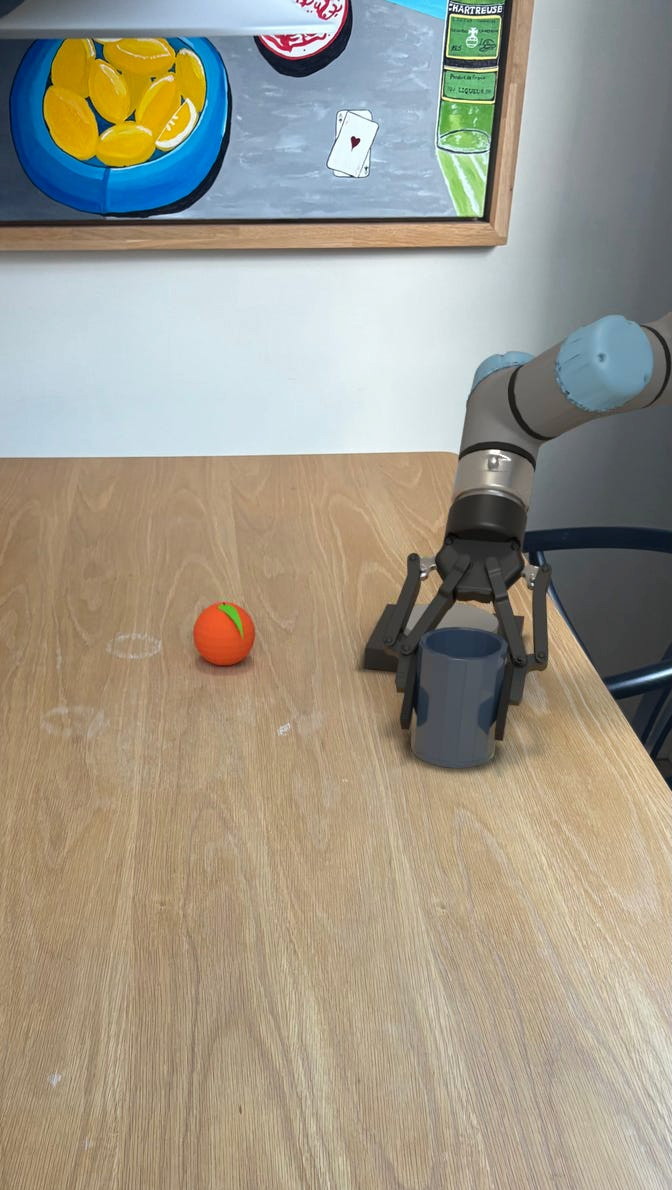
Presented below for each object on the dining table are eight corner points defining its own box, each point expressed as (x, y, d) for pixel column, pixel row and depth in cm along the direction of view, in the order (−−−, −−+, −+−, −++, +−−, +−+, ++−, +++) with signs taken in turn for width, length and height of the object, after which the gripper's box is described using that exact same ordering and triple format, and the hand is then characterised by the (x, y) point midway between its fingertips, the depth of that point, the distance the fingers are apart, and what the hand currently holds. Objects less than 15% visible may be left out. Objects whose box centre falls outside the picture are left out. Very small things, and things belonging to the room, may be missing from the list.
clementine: (270, 671, 136) (271, 610, 132) (215, 683, 133) (214, 621, 129) (237, 646, 142) (237, 587, 138) (183, 658, 139) (181, 598, 136)
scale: (522, 636, 143) (525, 607, 141) (510, 683, 132) (514, 653, 130) (385, 623, 147) (387, 595, 145) (363, 668, 136) (365, 638, 134)
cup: (498, 736, 121) (511, 631, 115) (489, 772, 115) (503, 663, 109) (417, 726, 123) (426, 623, 118) (404, 762, 117) (413, 654, 111)
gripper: (378, 482, 118) (336, 703, 114) (604, 497, 113) (569, 730, 108) (384, 521, 125) (345, 730, 121) (597, 536, 120) (564, 756, 115)
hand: (451, 730), depth 114 cm, fingers closed on cup, 8 cm apart
